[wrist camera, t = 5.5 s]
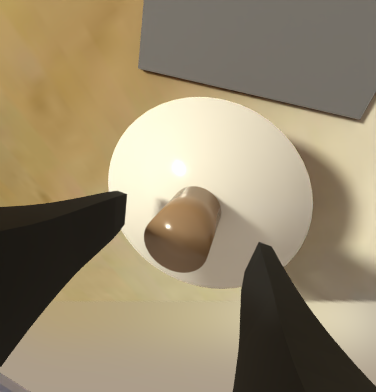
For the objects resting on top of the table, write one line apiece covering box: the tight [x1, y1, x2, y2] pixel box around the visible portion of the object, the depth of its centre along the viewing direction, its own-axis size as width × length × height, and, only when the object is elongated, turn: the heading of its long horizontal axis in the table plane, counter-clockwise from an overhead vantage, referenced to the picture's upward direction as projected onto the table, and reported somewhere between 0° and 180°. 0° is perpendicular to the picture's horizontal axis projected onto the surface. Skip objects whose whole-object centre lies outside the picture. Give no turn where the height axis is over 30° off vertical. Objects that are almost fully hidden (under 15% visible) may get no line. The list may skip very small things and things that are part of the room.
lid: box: [108, 97, 313, 289], centre depth 11 cm, size 12×12×4 cm
